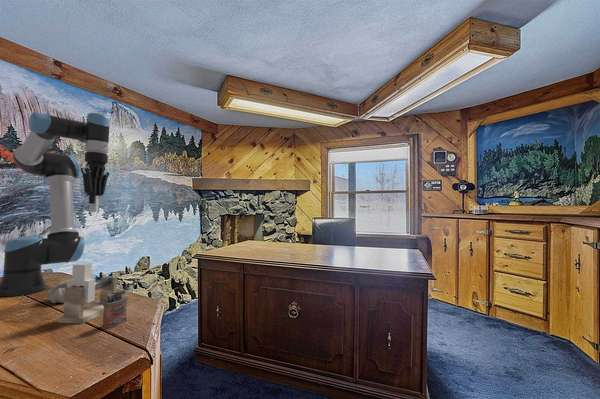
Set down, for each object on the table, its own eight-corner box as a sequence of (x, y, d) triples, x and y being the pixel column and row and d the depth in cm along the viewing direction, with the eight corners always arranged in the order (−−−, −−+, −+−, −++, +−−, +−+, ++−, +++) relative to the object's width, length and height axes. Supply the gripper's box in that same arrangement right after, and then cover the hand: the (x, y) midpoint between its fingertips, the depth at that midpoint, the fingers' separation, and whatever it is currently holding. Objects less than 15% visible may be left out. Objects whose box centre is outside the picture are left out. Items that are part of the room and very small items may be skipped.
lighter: (108, 330, 86) (110, 295, 86) (98, 328, 87) (100, 294, 87) (129, 320, 94) (130, 288, 94) (120, 319, 95) (121, 288, 95)
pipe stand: (99, 304, 109) (100, 275, 109) (120, 305, 109) (121, 276, 109) (57, 322, 91) (59, 288, 91) (82, 323, 91) (84, 288, 91)
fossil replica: (47, 307, 105) (81, 304, 113) (52, 284, 106) (85, 282, 113) (41, 298, 113) (73, 295, 120) (45, 276, 113) (77, 275, 121)
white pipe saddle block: (73, 299, 96) (75, 263, 97) (94, 300, 96) (96, 263, 97) (66, 302, 93) (68, 264, 94) (87, 303, 93) (89, 265, 94)
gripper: (93, 149, 110) (90, 212, 109) (116, 156, 123) (113, 212, 122) (74, 149, 110) (71, 211, 109) (99, 156, 123) (96, 211, 122)
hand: (93, 211), depth 116 cm, fingers closed
